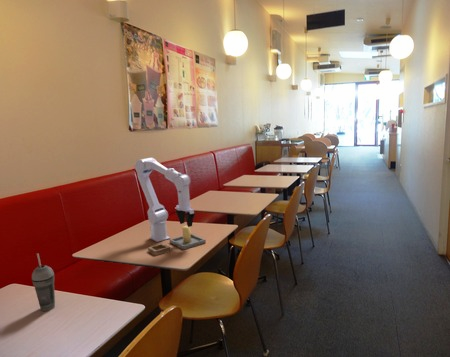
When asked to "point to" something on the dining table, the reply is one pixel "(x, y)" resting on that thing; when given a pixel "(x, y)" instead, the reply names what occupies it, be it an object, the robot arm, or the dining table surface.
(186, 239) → the pin
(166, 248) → the socket block
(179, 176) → the robot arm
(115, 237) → the dining table surface
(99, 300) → the dining table surface
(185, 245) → the tray
